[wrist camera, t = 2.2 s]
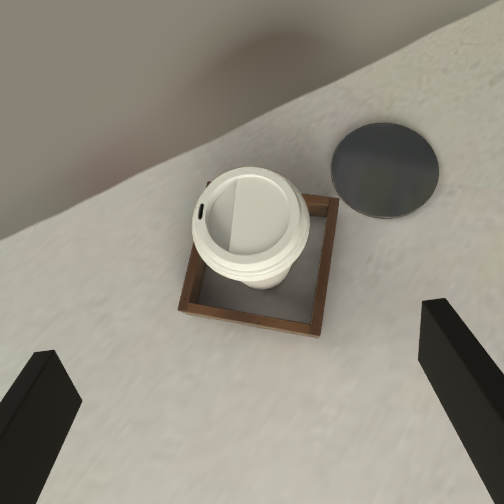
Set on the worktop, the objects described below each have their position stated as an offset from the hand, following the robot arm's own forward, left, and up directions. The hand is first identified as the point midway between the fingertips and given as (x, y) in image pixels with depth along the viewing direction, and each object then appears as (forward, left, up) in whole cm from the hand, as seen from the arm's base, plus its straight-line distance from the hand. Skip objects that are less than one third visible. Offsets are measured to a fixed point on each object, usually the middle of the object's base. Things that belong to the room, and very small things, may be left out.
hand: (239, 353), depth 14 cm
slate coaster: (-9, -23, -28) cm, 37 cm away
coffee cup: (+3, -10, -28) cm, 30 cm away
